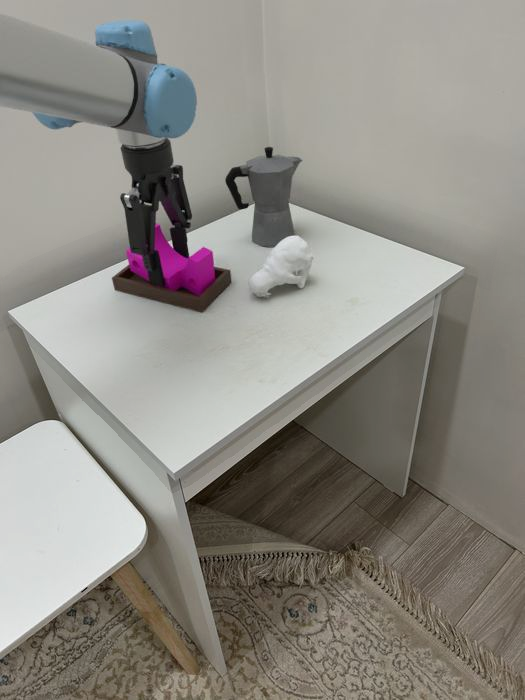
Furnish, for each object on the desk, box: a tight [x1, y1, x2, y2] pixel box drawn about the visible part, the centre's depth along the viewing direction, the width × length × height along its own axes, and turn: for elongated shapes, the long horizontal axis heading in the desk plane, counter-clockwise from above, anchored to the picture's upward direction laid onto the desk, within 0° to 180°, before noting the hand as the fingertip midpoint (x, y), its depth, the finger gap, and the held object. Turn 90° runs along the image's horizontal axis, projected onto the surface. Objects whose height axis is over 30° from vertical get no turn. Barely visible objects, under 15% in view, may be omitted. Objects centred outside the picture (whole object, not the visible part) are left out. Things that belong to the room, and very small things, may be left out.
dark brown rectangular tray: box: [111, 264, 232, 313], centre depth 97 cm, size 19×10×3 cm, turn 63°
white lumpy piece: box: [248, 235, 314, 298], centre depth 93 cm, size 6×8×12 cm
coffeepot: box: [224, 146, 303, 248], centre depth 104 cm, size 15×9×18 cm, turn 113°
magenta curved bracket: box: [125, 222, 215, 296], centre depth 94 cm, size 15×6×8 cm, turn 52°
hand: (170, 272), depth 96 cm, fingers closed on magenta curved bracket, 7 cm apart
